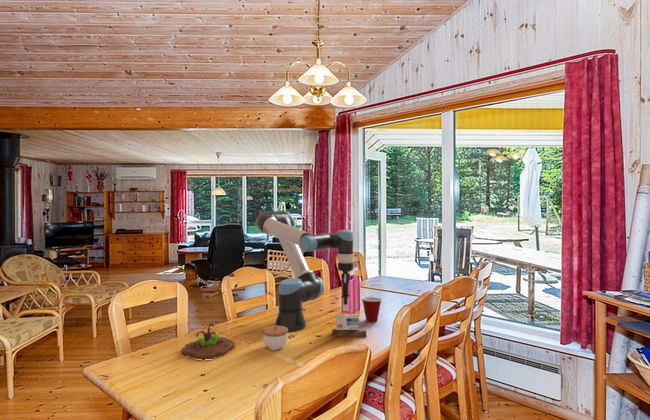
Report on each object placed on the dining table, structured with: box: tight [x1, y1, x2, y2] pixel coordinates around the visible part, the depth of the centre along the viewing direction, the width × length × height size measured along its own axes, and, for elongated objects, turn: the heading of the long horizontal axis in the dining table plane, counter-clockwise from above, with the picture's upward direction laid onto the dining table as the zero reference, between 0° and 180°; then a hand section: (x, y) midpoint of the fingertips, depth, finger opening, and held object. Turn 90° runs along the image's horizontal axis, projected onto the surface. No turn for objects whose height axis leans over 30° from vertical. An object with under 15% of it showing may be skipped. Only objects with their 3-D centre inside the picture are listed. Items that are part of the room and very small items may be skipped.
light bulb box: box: [335, 313, 360, 330], centre depth 171 cm, size 11×7×11 cm
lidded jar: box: [262, 325, 289, 351], centre depth 156 cm, size 11×11×9 cm
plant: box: [180, 322, 236, 360], centre depth 153 cm, size 20×20×11 cm
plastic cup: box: [361, 296, 383, 323], centre depth 191 cm, size 11×11×12 cm
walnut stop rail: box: [331, 328, 367, 338], centre depth 169 cm, size 16×2×2 cm, turn 84°
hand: (345, 310), depth 176 cm, fingers closed
